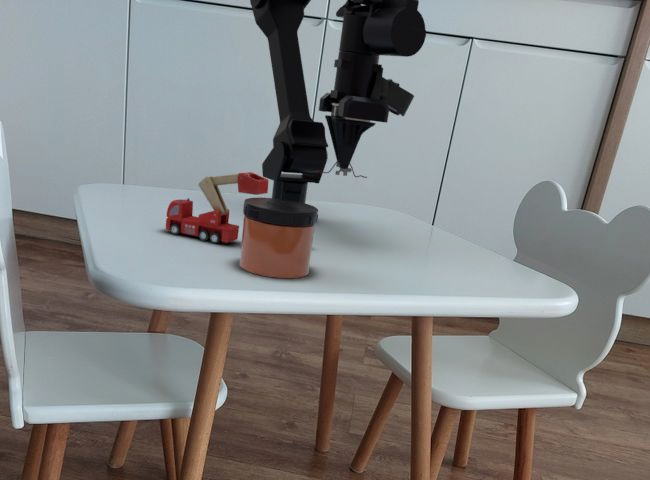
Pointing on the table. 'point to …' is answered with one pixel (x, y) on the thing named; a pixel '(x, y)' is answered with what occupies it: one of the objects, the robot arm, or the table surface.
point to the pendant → (341, 170)
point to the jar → (276, 249)
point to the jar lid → (280, 211)
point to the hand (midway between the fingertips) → (342, 168)
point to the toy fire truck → (217, 220)
